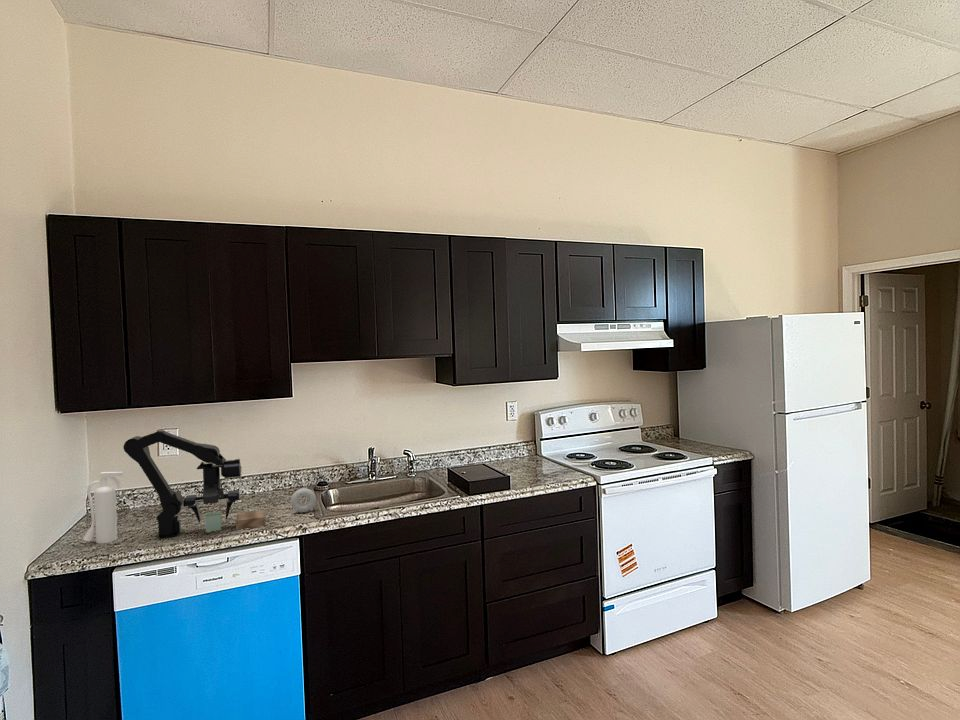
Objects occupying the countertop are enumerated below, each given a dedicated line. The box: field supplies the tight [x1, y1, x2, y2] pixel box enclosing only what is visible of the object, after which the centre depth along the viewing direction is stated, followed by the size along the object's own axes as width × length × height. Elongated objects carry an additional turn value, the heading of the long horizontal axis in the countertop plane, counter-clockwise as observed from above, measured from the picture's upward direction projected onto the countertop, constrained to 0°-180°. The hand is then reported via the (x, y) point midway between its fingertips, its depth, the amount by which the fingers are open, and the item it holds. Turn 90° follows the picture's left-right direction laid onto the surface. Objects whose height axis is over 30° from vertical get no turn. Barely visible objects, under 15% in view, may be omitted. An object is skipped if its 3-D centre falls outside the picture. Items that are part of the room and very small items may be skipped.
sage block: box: [204, 511, 222, 533], centre depth 204 cm, size 5×5×6 cm
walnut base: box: [235, 509, 266, 531], centre depth 209 cm, size 10×10×4 cm
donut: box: [290, 487, 317, 513], centre depth 223 cm, size 10×4×10 cm, turn 112°
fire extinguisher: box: [82, 471, 124, 544], centre depth 195 cm, size 7×12×25 cm, turn 116°
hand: (213, 520), depth 204 cm, fingers open, 9 cm apart
